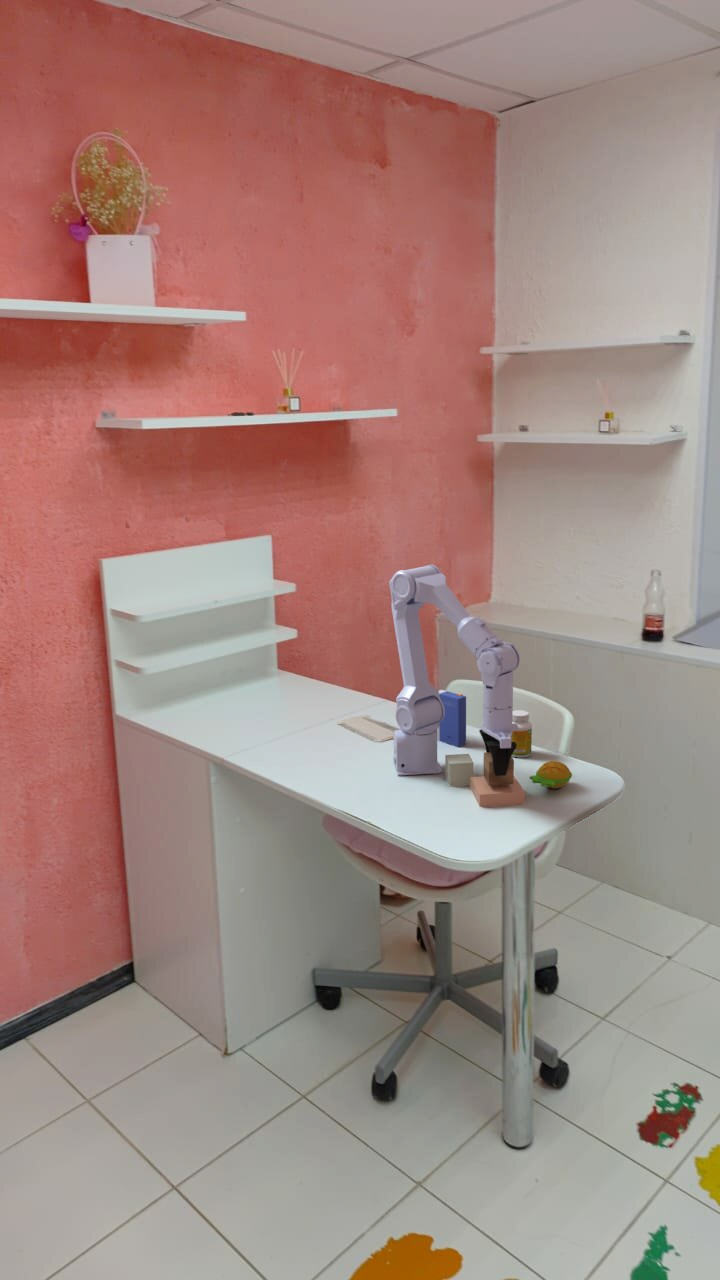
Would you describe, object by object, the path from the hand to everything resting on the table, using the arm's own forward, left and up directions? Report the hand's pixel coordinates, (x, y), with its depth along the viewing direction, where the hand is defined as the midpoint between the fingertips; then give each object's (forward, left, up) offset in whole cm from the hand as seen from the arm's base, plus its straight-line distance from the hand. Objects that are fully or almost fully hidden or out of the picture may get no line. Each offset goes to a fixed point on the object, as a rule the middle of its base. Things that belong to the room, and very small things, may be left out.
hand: (497, 769), depth 193 cm
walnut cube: (0, 0, -2) cm, 2 cm away
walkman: (-4, +32, -6) cm, 33 cm away
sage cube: (-6, +9, -6) cm, 12 cm away
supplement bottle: (+10, +22, -6) cm, 25 cm away
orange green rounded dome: (+12, +2, -6) cm, 13 cm away
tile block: (0, 0, -6) cm, 6 cm away
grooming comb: (-21, +44, -6) cm, 49 cm away
